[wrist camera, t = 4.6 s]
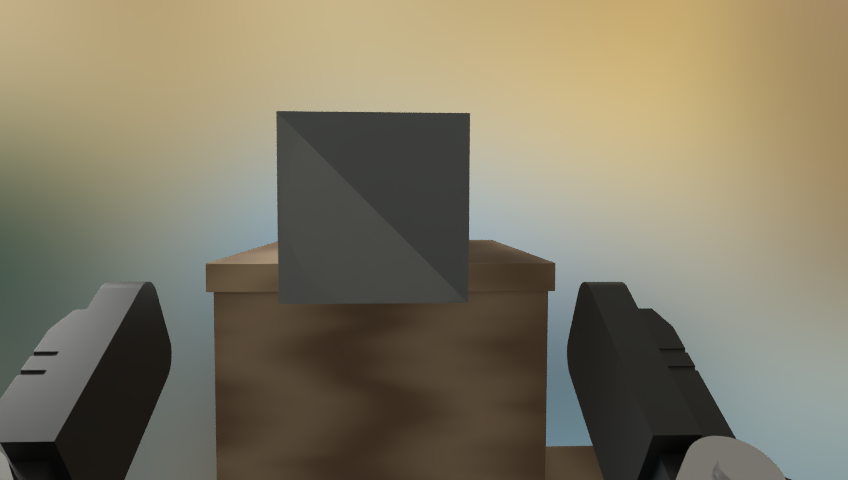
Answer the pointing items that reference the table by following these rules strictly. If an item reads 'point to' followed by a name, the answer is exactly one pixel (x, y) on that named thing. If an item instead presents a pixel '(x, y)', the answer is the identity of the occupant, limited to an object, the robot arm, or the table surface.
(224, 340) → the wooden plank crate
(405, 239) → the bar
